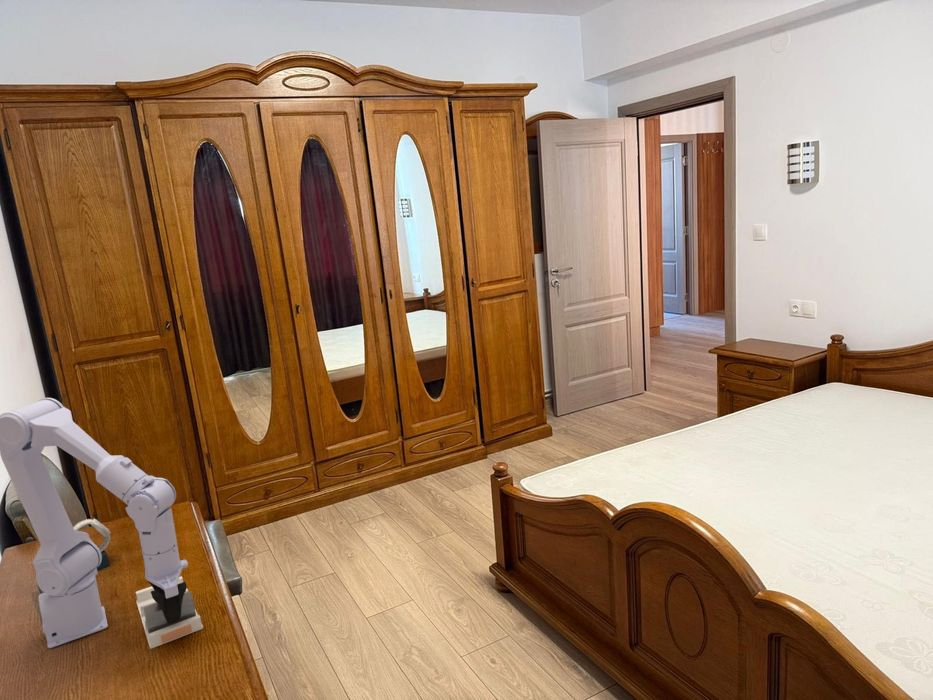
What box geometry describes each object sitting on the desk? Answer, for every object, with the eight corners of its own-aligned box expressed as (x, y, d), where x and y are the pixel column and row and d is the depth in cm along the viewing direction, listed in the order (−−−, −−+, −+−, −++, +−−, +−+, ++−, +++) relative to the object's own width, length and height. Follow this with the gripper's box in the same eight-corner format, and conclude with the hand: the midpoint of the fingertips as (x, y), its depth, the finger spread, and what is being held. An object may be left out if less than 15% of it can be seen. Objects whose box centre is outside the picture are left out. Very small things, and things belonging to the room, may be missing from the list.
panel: (150, 640, 111) (145, 615, 110) (147, 631, 114) (143, 607, 113) (197, 622, 116) (193, 598, 115) (193, 614, 118) (189, 591, 117)
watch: (119, 562, 140) (110, 517, 137) (79, 578, 134) (69, 532, 132) (111, 554, 144) (102, 510, 141) (71, 569, 138) (62, 524, 136)
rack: (150, 650, 110) (148, 638, 109) (136, 602, 124) (134, 592, 123) (203, 629, 114) (201, 617, 114) (184, 586, 129) (182, 575, 128)
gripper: (191, 555, 108) (202, 624, 111) (175, 525, 119) (186, 587, 122) (147, 570, 104) (159, 641, 107) (135, 537, 116) (147, 601, 118)
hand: (171, 613), depth 114 cm, fingers open, 5 cm apart
